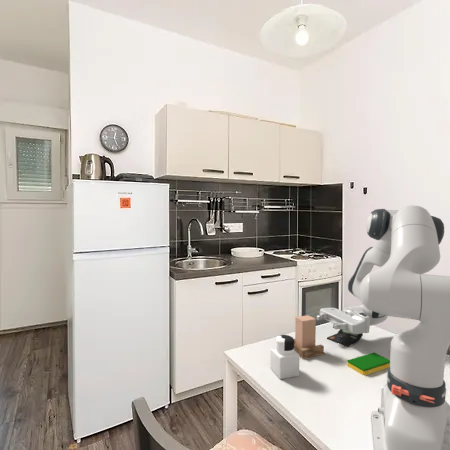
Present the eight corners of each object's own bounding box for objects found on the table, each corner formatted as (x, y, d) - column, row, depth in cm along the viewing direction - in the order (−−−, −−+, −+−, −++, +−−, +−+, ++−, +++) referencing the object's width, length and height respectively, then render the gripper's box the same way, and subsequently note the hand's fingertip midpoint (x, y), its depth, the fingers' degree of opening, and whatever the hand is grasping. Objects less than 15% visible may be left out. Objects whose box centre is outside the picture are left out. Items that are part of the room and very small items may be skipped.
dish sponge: (391, 367, 105) (392, 360, 105) (363, 377, 100) (363, 369, 99) (374, 358, 112) (374, 352, 112) (346, 366, 106) (346, 360, 106)
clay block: (307, 344, 120) (308, 315, 120) (315, 349, 116) (315, 319, 116) (295, 347, 118) (295, 317, 118) (302, 352, 114) (302, 321, 113)
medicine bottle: (288, 365, 106) (289, 331, 105) (299, 376, 99) (300, 340, 98) (270, 368, 104) (270, 334, 103) (280, 379, 97) (280, 343, 96)
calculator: (326, 339, 128) (326, 332, 127) (342, 332, 135) (342, 326, 134) (347, 347, 120) (347, 340, 120) (362, 340, 127) (363, 333, 127)
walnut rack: (306, 342, 124) (307, 335, 124) (325, 354, 114) (325, 347, 114) (285, 346, 121) (286, 339, 120) (302, 359, 110) (302, 351, 110)
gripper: (335, 302, 135) (309, 306, 130) (372, 318, 116) (344, 323, 111) (334, 316, 136) (309, 320, 130) (372, 334, 117) (344, 340, 111)
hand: (325, 322), depth 121 cm, fingers open, 8 cm apart
